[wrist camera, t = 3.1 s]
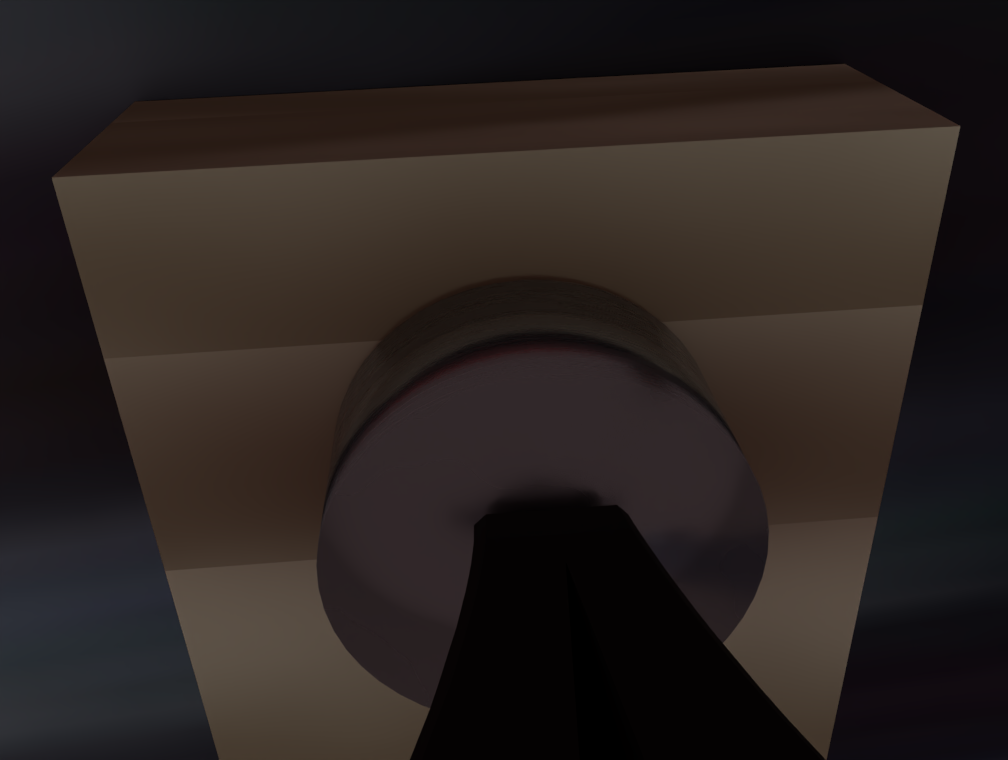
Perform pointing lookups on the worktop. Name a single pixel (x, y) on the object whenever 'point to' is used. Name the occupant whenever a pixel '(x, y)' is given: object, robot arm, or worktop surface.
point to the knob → (523, 463)
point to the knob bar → (482, 261)
